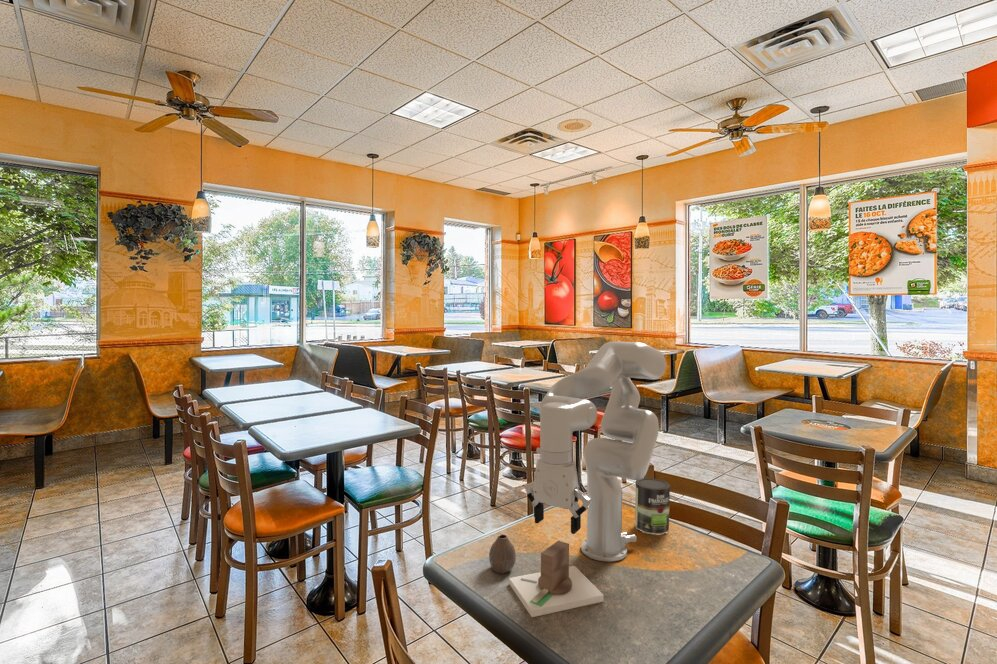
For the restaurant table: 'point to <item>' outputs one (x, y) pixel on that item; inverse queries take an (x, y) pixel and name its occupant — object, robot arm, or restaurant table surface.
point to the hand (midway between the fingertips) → (556, 526)
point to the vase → (502, 555)
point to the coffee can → (652, 506)
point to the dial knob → (554, 570)
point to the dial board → (550, 603)
